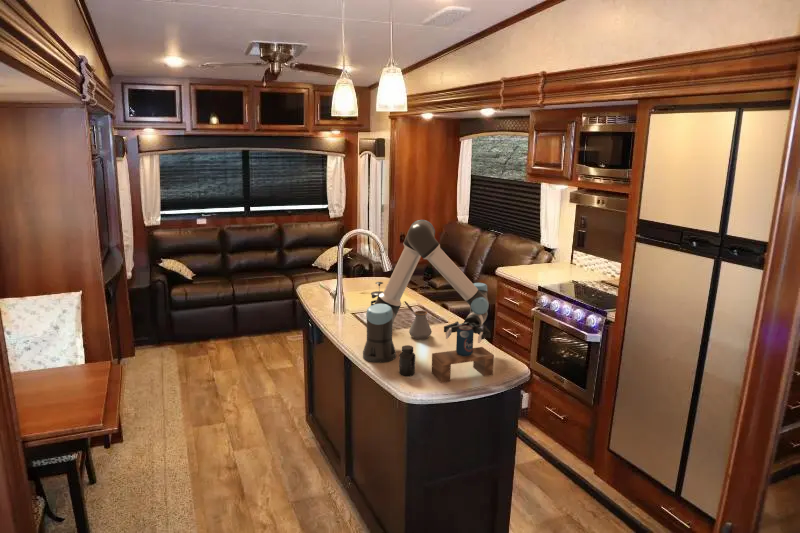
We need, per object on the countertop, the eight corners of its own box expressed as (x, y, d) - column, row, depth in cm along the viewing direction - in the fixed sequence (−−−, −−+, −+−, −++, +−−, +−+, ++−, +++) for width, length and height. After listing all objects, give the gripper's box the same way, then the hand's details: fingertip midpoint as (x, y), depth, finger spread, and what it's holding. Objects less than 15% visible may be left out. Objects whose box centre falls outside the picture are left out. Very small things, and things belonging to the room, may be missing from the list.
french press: (387, 326, 290) (387, 285, 285) (369, 326, 291) (369, 284, 286) (388, 319, 302) (388, 279, 297) (371, 319, 302) (371, 279, 297)
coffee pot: (436, 338, 275) (436, 309, 271) (417, 342, 269) (417, 313, 265) (412, 326, 292) (413, 299, 289) (394, 329, 286) (394, 302, 283)
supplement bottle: (395, 374, 231) (396, 347, 228) (404, 369, 236) (405, 343, 234) (409, 378, 227) (410, 351, 224) (418, 373, 233) (418, 346, 230)
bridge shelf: (441, 382, 223) (442, 362, 221) (431, 373, 232) (432, 353, 231) (492, 374, 232) (493, 355, 230) (481, 366, 241) (482, 346, 239)
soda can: (467, 358, 225) (468, 331, 223) (453, 354, 229) (454, 327, 227) (475, 353, 231) (476, 326, 228) (461, 349, 235) (462, 323, 232)
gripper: (500, 334, 243) (492, 350, 223) (446, 327, 251) (433, 342, 231) (501, 317, 241) (493, 333, 221) (446, 311, 249) (433, 325, 229)
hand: (462, 337), depth 226 cm, fingers open, 13 cm apart
